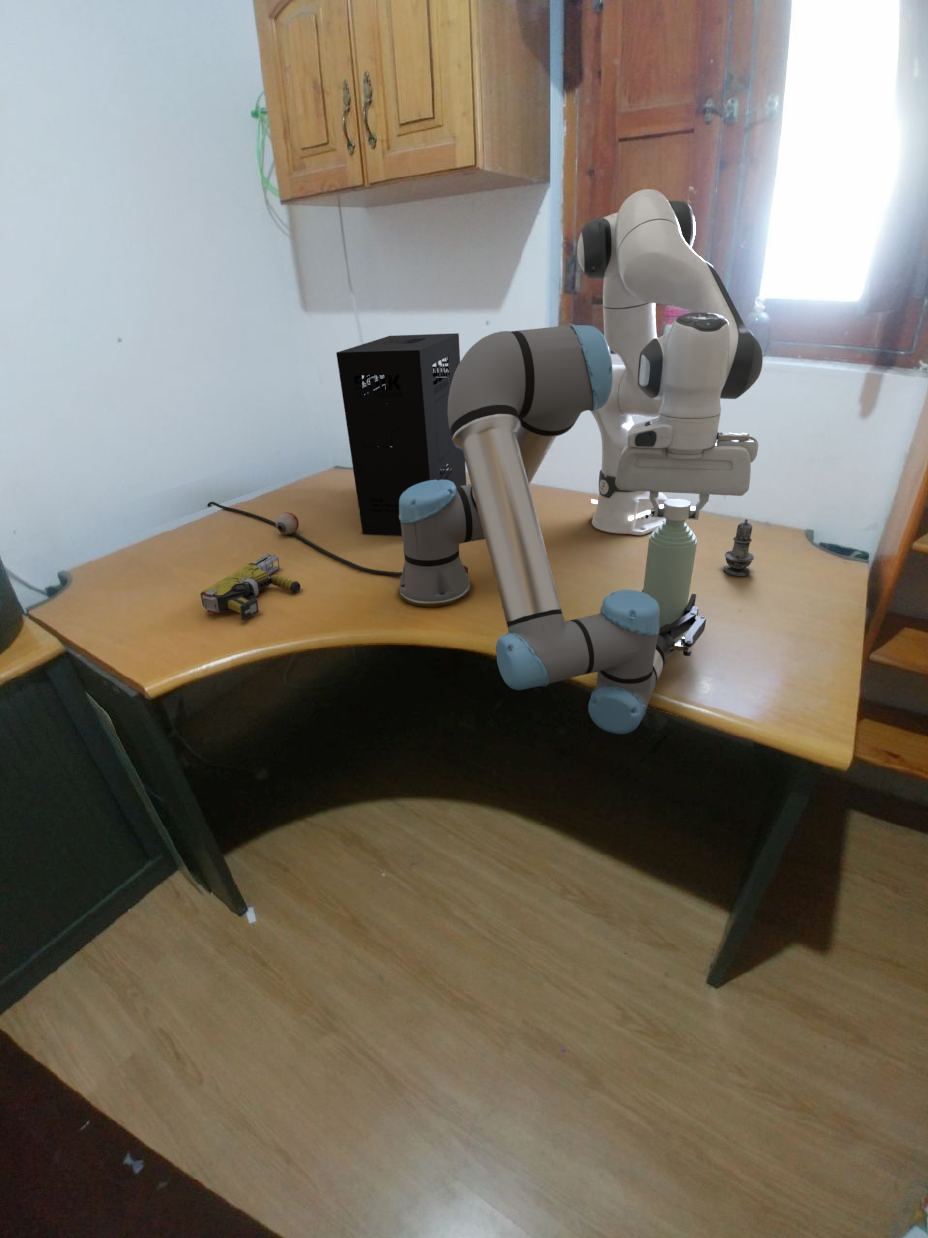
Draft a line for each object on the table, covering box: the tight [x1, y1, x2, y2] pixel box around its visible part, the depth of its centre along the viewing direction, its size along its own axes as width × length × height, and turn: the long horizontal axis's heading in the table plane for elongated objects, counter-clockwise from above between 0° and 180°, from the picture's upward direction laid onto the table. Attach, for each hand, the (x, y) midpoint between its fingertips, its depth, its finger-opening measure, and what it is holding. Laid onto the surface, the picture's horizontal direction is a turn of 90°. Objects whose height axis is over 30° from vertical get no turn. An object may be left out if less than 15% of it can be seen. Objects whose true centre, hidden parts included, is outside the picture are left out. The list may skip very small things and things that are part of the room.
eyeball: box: [275, 511, 300, 536], centre depth 163 cm, size 6×6×6 cm
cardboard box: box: [335, 332, 467, 536], centre depth 165 cm, size 38×20×45 cm, turn 167°
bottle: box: [642, 519, 698, 642], centre depth 105 cm, size 8×8×25 cm
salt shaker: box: [723, 518, 755, 577], centre depth 129 cm, size 6×6×12 cm
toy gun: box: [199, 552, 301, 621], centre depth 133 cm, size 5×24×15 cm
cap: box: [663, 498, 692, 521], centre depth 99 cm, size 4×4×2 cm
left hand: (669, 596), depth 112 cm, fingers closed on bottle, 8 cm apart
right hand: (675, 517), depth 99 cm, fingers closed on cap, 4 cm apart
